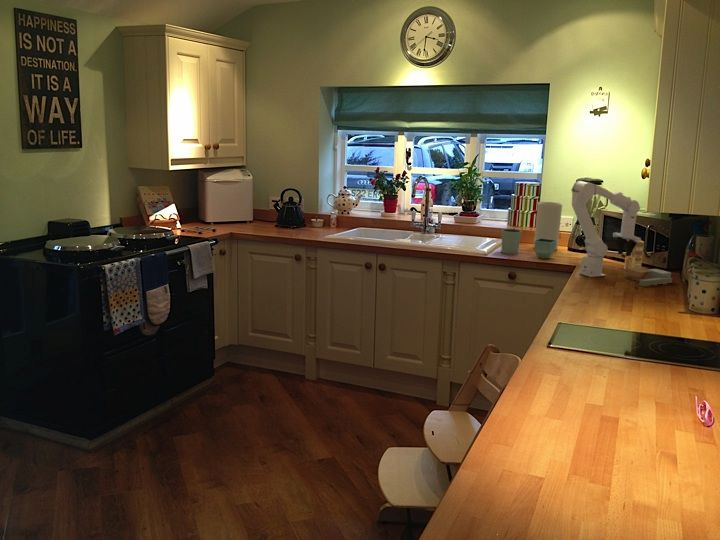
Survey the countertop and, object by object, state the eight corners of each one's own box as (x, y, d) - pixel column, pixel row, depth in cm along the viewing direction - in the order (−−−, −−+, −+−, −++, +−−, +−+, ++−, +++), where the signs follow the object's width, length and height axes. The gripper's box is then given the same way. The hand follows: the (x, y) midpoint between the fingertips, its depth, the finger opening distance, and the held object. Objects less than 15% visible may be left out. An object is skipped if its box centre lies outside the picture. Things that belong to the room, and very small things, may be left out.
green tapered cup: (522, 252, 367) (524, 230, 364) (515, 255, 358) (517, 232, 356) (503, 250, 372) (505, 227, 369) (496, 252, 364) (498, 230, 361)
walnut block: (639, 282, 312) (641, 272, 311) (625, 278, 319) (626, 268, 318) (648, 281, 315) (650, 271, 314) (634, 277, 322) (635, 267, 321)
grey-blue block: (660, 283, 312) (662, 273, 311) (646, 279, 319) (647, 269, 318) (669, 282, 315) (671, 272, 314) (654, 278, 322) (656, 268, 321)
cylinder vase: (532, 246, 387) (536, 201, 381) (555, 247, 386) (560, 202, 380) (535, 250, 375) (540, 204, 369) (559, 252, 373) (564, 205, 368)
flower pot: (532, 257, 355) (534, 240, 353) (538, 255, 363) (539, 238, 361) (549, 260, 351) (551, 242, 349) (554, 257, 358) (556, 240, 356)
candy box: (640, 273, 329) (645, 241, 326) (632, 273, 329) (636, 241, 325) (631, 269, 338) (635, 238, 335) (623, 269, 337) (627, 237, 334)
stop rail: (643, 286, 303) (644, 280, 303) (638, 285, 305) (639, 279, 305) (671, 283, 311) (672, 278, 311) (667, 282, 313) (668, 276, 313)
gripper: (647, 228, 315) (643, 257, 318) (622, 222, 328) (618, 251, 331) (635, 228, 312) (631, 258, 315) (611, 223, 325) (607, 252, 328)
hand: (624, 254), depth 323 cm, fingers open, 4 cm apart
